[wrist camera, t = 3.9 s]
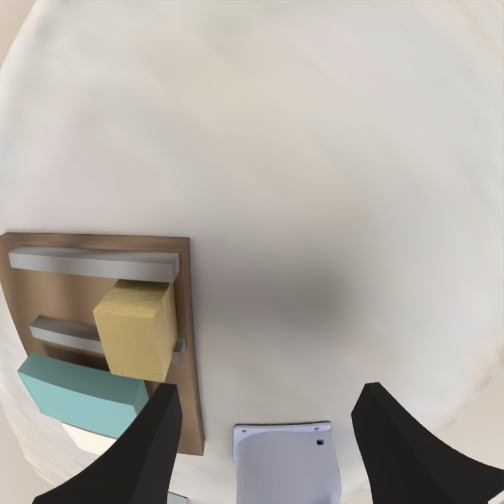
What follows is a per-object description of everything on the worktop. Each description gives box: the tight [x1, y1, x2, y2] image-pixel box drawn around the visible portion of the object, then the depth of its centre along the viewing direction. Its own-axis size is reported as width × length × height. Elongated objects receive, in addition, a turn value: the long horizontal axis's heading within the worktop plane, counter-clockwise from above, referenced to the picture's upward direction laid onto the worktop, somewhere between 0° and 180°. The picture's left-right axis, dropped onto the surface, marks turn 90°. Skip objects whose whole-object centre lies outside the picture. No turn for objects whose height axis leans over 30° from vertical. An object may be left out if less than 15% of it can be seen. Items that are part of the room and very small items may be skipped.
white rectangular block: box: [61, 421, 118, 455], centre depth 20 cm, size 10×5×2 cm, turn 87°
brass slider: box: [93, 279, 178, 382], centre depth 14 cm, size 3×4×4 cm
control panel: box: [0, 233, 205, 456], centre depth 19 cm, size 16×22×4 cm
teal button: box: [17, 352, 149, 438], centre depth 16 cm, size 10×5×2 cm, turn 87°
